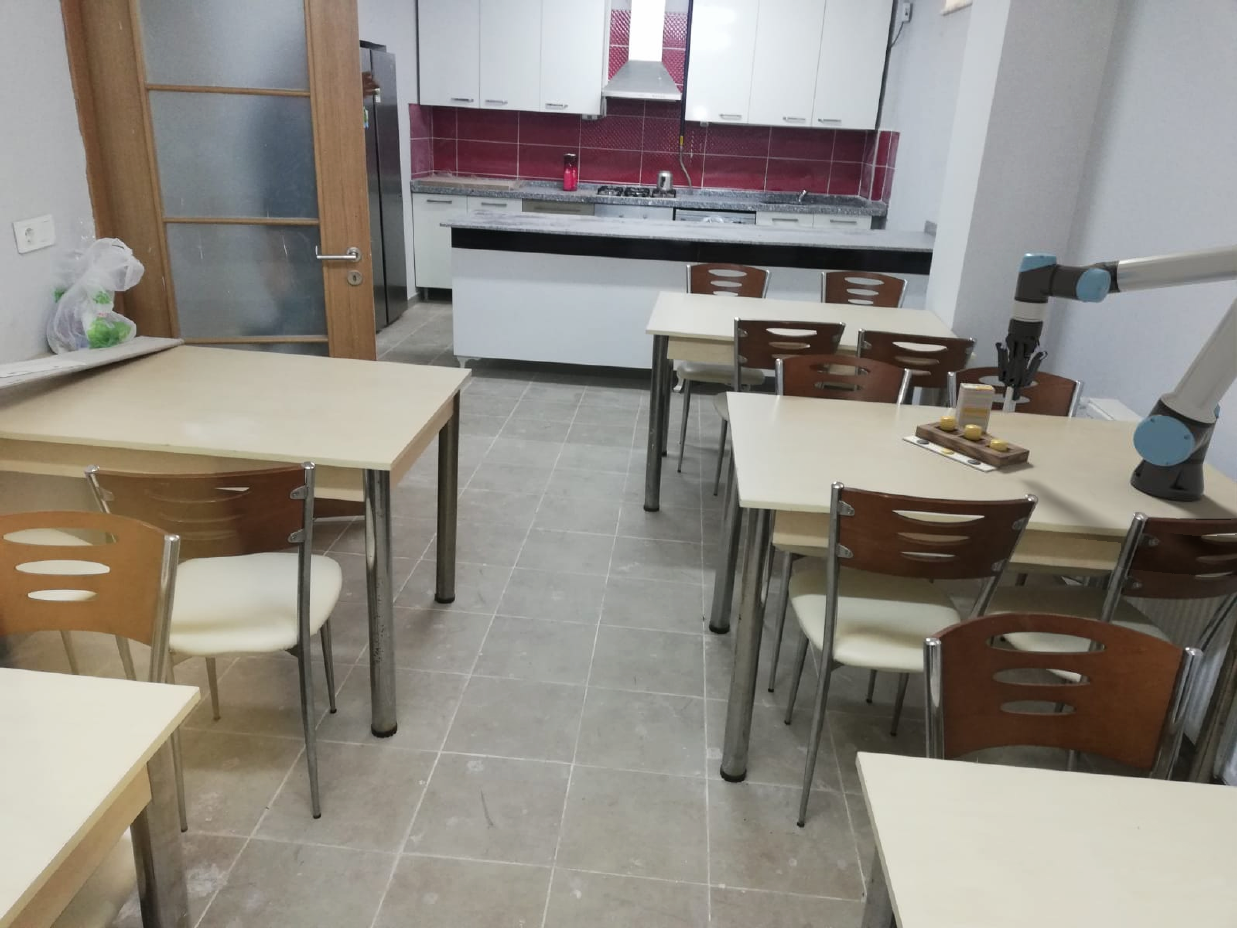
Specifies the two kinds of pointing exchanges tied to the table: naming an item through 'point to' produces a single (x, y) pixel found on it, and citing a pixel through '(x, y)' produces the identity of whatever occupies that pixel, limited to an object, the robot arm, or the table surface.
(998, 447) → the button
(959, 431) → the board
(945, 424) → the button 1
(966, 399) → the supplement box
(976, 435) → the button mid
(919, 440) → the card
